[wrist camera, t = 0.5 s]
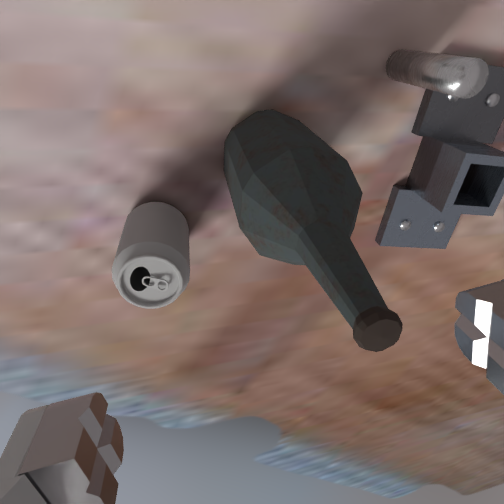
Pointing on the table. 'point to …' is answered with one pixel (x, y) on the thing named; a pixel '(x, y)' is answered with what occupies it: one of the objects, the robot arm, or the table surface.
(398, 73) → the pin
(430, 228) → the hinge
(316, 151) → the bottle
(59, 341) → the table surface
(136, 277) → the can
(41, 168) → the table surface
